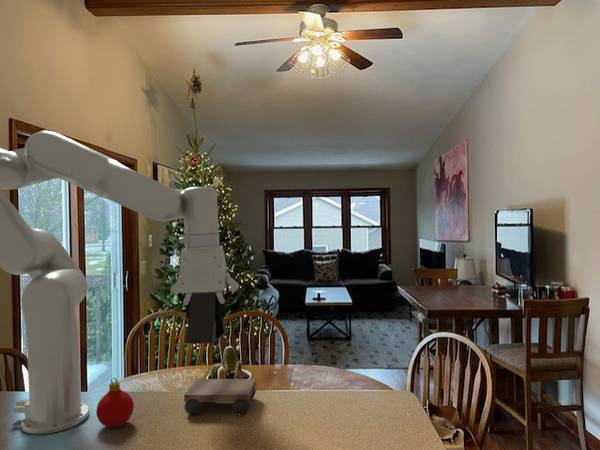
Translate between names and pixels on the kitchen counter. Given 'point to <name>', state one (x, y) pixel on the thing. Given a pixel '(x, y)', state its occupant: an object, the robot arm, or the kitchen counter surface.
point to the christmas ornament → (115, 406)
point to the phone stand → (204, 319)
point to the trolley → (220, 394)
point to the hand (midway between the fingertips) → (206, 320)
